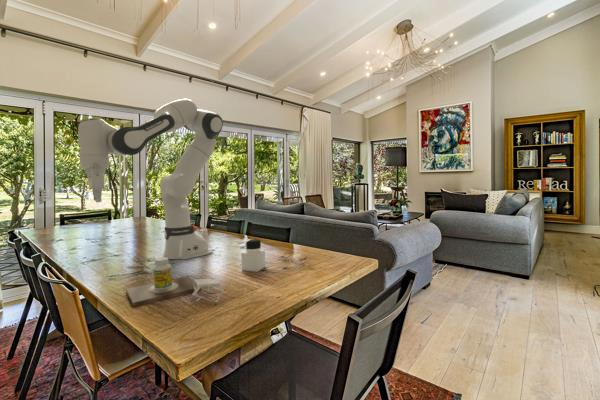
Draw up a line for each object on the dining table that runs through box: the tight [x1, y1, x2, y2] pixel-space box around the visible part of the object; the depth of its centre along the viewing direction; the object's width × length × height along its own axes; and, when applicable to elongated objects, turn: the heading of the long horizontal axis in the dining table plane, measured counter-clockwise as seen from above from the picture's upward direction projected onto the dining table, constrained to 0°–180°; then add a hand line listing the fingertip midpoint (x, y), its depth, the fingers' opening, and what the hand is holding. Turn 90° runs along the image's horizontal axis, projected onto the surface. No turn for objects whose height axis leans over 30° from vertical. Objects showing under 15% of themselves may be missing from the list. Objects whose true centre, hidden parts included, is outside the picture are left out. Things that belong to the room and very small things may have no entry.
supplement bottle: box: [152, 257, 173, 290], centre depth 101 cm, size 5×5×10 cm
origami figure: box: [191, 278, 225, 302], centre depth 96 cm, size 12×8×5 cm
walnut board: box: [125, 275, 202, 307], centre depth 101 cm, size 20×14×1 cm
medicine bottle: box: [241, 238, 266, 273], centre depth 124 cm, size 7×7×12 cm
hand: (97, 201), depth 113 cm, fingers open, 8 cm apart
